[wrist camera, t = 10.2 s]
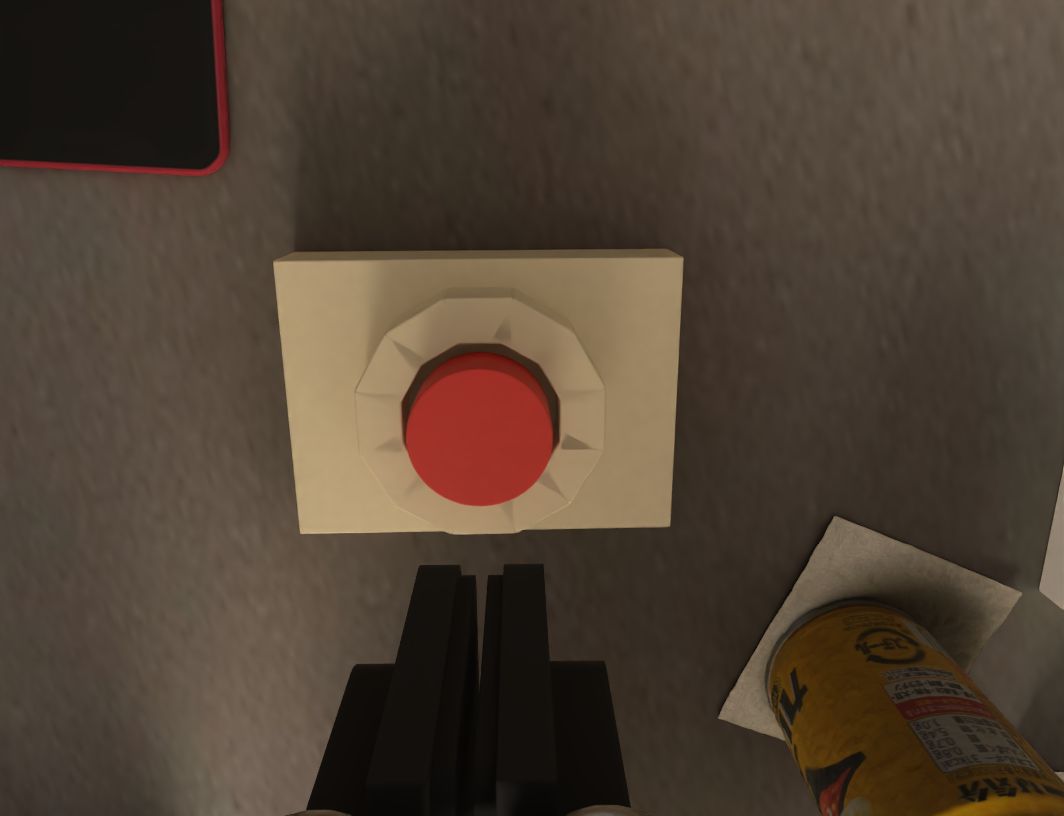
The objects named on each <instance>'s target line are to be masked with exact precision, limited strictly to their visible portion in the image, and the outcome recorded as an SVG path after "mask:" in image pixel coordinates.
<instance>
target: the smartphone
mask: <svg viewBox="0 0 1064 816" xmlns="http://www.w3.org/2000/svg"><path fill="white" fill-rule="evenodd" d="M229 150H230V134H229V116H228V98H227V80H226V62H225V44H224V26H223V8H222V0H0V166H13V167H32V168H52V169H72V170H91V171H111V172H131V173H150V174H170V175H190V176H203V175H208V174H212V173H213V172H215V171H217V170H218V169H220V168H221V167H222V166H223V164H224V163H225V162H226V159H227V157H228V155H229Z"/></svg>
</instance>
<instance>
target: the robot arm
mask: <svg viewBox="0 0 1064 816" xmlns="http://www.w3.org/2000/svg"><path fill="white" fill-rule="evenodd" d="M286 816H651V815H649V814H647V813H645V812H643V811H641V810H637V809H633V808H631V806H630V801H629V795H628V789H627V783H626V778H625V772H624V766H623V761H622V755H621V749H620V743H619V738H618V732H617V726H616V721H615V715H614V709H613V703H612V698H611V692H610V686H609V680H608V675H607V669H606V665H605V662H604V661H550V659H549V643H548V627H547V612H546V596H545V580H544V565H543V564H504V572H503V575H488V581H487V595H486V609H485V623H484V637H483V650H482V664H481V678H480V692H479V660H478V625H477V590H476V576H475V575H461V567H460V565H420V566H419V568H418V572H417V576H416V580H415V584H414V588H413V592H412V596H411V600H410V605H409V609H408V613H407V617H406V621H405V625H404V629H403V633H402V637H401V641H400V645H399V649H398V654H397V658H396V662H395V664H357V665H355V666H354V667H353V669H352V672H351V674H350V677H349V680H348V683H347V686H346V689H345V692H344V695H343V698H342V701H341V704H340V707H339V710H338V714H337V717H336V720H335V723H334V726H333V729H332V732H331V735H330V738H329V741H328V744H327V747H326V750H325V753H324V756H323V759H322V762H321V765H320V769H319V772H318V775H317V778H316V781H315V784H314V787H313V790H312V793H311V796H310V799H309V802H308V805H307V808H306V811H302V812H298V813H294V814H290V815H286Z"/></svg>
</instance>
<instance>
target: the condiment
mask: <svg viewBox="0 0 1064 816" xmlns="http://www.w3.org/2000/svg"><path fill="white" fill-rule="evenodd" d="M1021 595H1022V593H1021V592H1019V591H1017V590H1015V589H1012V588H1010V587H1007V586H1005V585H1002V584H1000V583H998V582H996V581H994V580H992V579H989V578H987V577H984V576H982V575H980V574H977V573H975V572H973V571H970V570H967V569H965V568H962V567H960V566H958V565H956V564H954V563H951V562H949V561H946V560H943V559H941V558H939V557H936V556H934V555H931V554H929V553H926V552H924V551H922V550H919V549H917V548H915V547H914V546H912V545H908V544H905V543H902V542H899V541H897V540H893V539H891V538H889V537H886V536H884V535H882V534H880V533H877V532H875V531H872V530H870V529H868V528H864V527H862V526H859V525H857V524H854V523H852V522H849V521H847V520H844V519H842V518H839V517H837V516H834V518H833V520H832V522H831V523H830V525H829V527H828V528H827V530H826V533H825V535H824V536H823V538H822V540H821V542H820V543H819V544H818V546H817V547H816V549H815V550H814V552H813V554H812V556H811V557H810V560H809V562H808V565H807V566H806V568H805V570H804V571H803V572H802V574H801V575H800V577H799V579H798V580H797V582H796V584H795V585H794V587H793V590H792V592H791V593H790V595H789V596H788V597H787V599H786V600H785V602H784V604H783V606H782V608H781V609H780V610H779V612H778V614H777V615H776V617H775V618H774V620H773V621H772V623H771V624H770V626H769V628H768V629H767V631H766V633H765V634H764V636H763V638H762V640H761V641H760V643H759V645H758V647H757V649H756V650H755V652H754V654H753V655H752V657H751V658H750V660H749V662H748V664H747V665H746V667H745V669H744V670H743V672H742V673H741V675H740V677H739V679H738V681H737V684H736V685H735V687H734V688H733V690H732V691H731V693H730V695H729V696H728V698H727V700H726V702H725V704H724V706H723V708H722V710H721V712H720V715H719V717H718V718H719V719H722V720H725V721H728V722H730V723H734V724H736V725H739V726H742V727H744V728H748V729H752V730H754V731H757V732H759V733H765V734H767V735H770V736H773V737H776V738H779V739H781V740H784V741H786V743H787V744H788V746H789V749H790V751H791V752H792V755H793V757H794V759H795V762H796V764H797V766H798V767H799V769H800V772H801V775H802V777H803V778H804V780H805V782H806V784H807V786H808V788H809V789H810V791H811V794H812V796H813V798H814V800H815V802H816V804H817V806H818V808H819V811H820V812H821V814H822V816H1064V782H1063V781H1062V779H1061V778H1059V777H1058V775H1057V774H1056V773H1055V772H1054V771H1053V770H1052V769H1051V768H1050V767H1049V766H1048V764H1047V763H1046V762H1045V761H1044V760H1043V759H1042V758H1041V757H1040V755H1039V754H1038V753H1037V752H1036V751H1035V750H1034V749H1033V748H1032V747H1031V746H1030V744H1029V743H1028V742H1027V741H1026V740H1025V739H1024V738H1023V737H1022V735H1021V734H1020V733H1019V732H1018V731H1017V730H1016V729H1015V728H1014V727H1013V726H1012V724H1011V723H1010V722H1009V721H1008V720H1007V719H1006V718H1005V717H1004V716H1003V714H1002V713H1001V712H1000V711H999V710H998V709H997V708H996V707H995V705H994V704H993V703H992V702H991V701H990V700H989V699H988V697H987V696H986V695H985V694H984V693H983V692H982V691H981V690H980V689H979V688H978V687H977V685H976V684H975V683H974V682H973V681H972V680H971V679H970V678H969V676H968V675H967V674H968V673H969V672H970V669H971V667H972V665H973V663H974V662H975V660H976V658H977V657H978V656H979V655H980V654H981V653H982V650H983V648H984V646H985V644H986V643H987V642H988V640H989V639H990V638H991V636H992V635H993V633H994V632H995V630H996V629H997V628H998V627H999V626H1000V625H1001V624H1002V623H1003V621H1004V620H1005V619H1006V618H1007V617H1008V615H1009V613H1010V611H1011V610H1012V608H1013V606H1014V605H1015V603H1016V602H1017V601H1018V599H1019V598H1020V596H1021Z"/></svg>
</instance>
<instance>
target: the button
mask: <svg viewBox="0 0 1064 816" xmlns="http://www.w3.org/2000/svg"><path fill="white" fill-rule="evenodd" d="M406 445H407V451H408V455H409V458H410V461H411V463H412V465H413V467H414V469H415V471H416V472H417V474H418V475H419V477H420V478H421V479H422V481H423V482H424V483H425V484H426V485H427V486H428V487H429V488H431V489H432V490H433V491H434V492H436V493H437V494H439V495H441V496H442V497H444V498H446V499H448V500H450V501H453V502H456V503H459V504H463V505H468V506H481V507H482V506H492V505H497V504H501V503H504V502H507V501H510V500H512V499H514V498H516V497H518V496H520V495H521V494H523V493H524V492H526V491H527V490H528V489H529V488H530V487H532V486H533V485H534V483H535V482H536V481H537V480H538V479H539V478H540V476H541V475H542V473H543V472H544V470H545V468H546V466H547V464H548V462H549V459H550V456H551V452H552V447H553V428H552V422H551V417H550V411H549V406H548V401H547V398H546V395H545V392H544V390H543V389H542V387H541V385H540V383H539V382H538V380H537V379H536V378H535V376H534V375H533V374H532V373H531V372H530V371H529V370H528V369H526V368H525V367H524V366H523V365H521V364H520V363H518V362H517V361H515V360H513V359H511V358H509V357H506V356H503V355H500V354H496V353H490V352H472V353H466V354H462V355H459V356H456V357H453V358H451V359H449V360H447V361H445V362H444V363H442V364H441V365H439V366H438V367H437V368H436V369H434V370H433V371H432V372H431V373H430V374H429V376H428V377H427V378H426V379H425V381H424V382H423V384H422V385H421V387H420V389H419V391H418V394H417V396H416V399H415V401H414V404H413V407H412V409H411V412H410V415H409V418H408V421H407V428H406Z"/></svg>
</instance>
